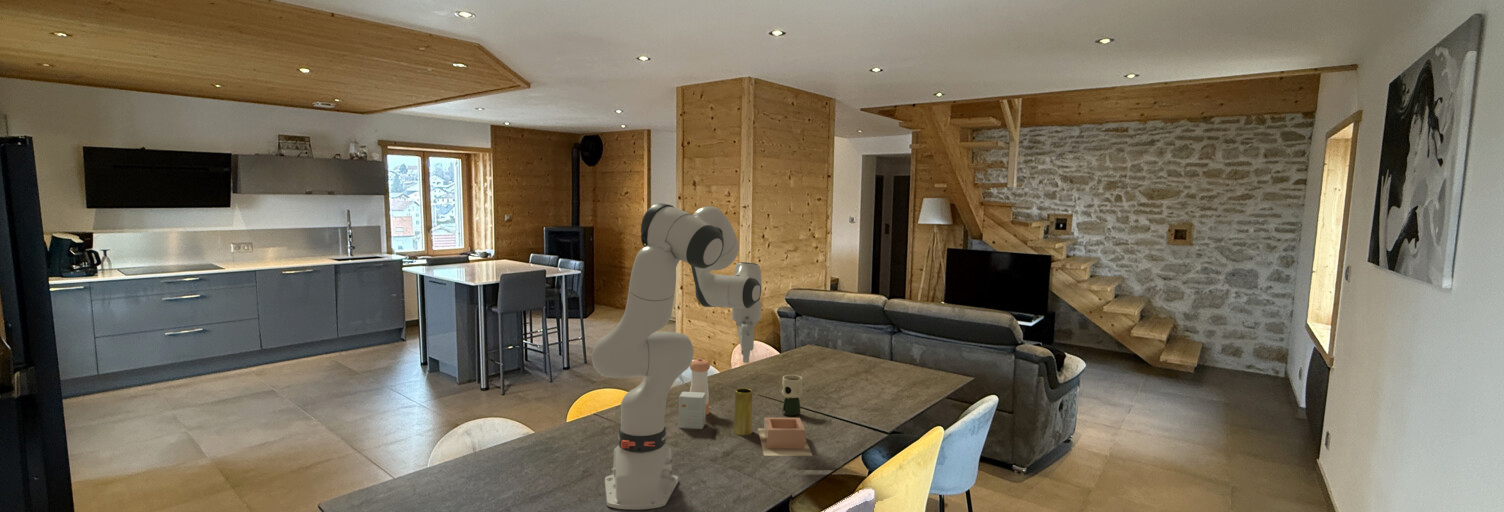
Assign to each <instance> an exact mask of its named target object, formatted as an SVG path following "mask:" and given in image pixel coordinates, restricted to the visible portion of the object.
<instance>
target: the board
mask: <svg viewBox="0 0 1504 512" xmlns="http://www.w3.org/2000/svg"><path fill="white" fill-rule="evenodd" d="M757 431H758V432H757V433H758V435H759V440H760V444H761V449H762V454H763V456H764V457H768V456H769V457H812V456H813V454H812V451H811V448H810V446H809V444H808V441H807V439H806V438H805V447H804V448H767V445H766V441H765V437H764V428H757Z"/></svg>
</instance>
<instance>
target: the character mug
mask: <svg viewBox="0 0 1504 512" xmlns="http://www.w3.org/2000/svg"><path fill="white" fill-rule="evenodd" d="M803 380H804V378H803V376H801V375H796V374H787V375H783V376H782V383H781V384H782V388H781V395H782V396H783V397H784V398H783V404H782V414H784V415H785V416H796V415H800V414H801V404H800V403H801V401H800V399H799V398H801V397H802V396H803V384H804V381H803Z"/></svg>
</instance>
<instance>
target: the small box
mask: <svg viewBox="0 0 1504 512" xmlns="http://www.w3.org/2000/svg"><path fill="white" fill-rule="evenodd" d="M706 416H707V415H706V393H701V392H690V391H682V392H681V393H680V395H679V396H678V428H679V429H690V430H691V429H692V430H703V429H704V427H705V425H706Z"/></svg>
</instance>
